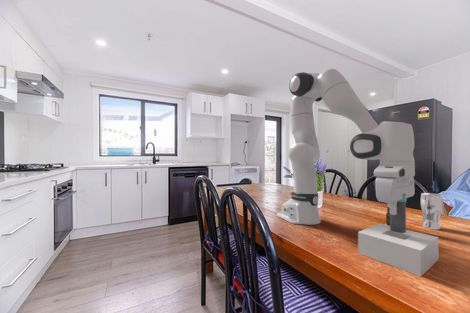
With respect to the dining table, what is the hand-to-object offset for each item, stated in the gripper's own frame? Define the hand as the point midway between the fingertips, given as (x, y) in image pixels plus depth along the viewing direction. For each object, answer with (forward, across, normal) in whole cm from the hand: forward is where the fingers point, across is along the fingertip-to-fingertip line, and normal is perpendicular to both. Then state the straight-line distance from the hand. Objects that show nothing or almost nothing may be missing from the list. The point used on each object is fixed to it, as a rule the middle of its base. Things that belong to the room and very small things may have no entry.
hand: (397, 212), depth 66 cm
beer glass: (+14, -44, -2) cm, 46 cm away
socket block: (+14, 0, 0) cm, 14 cm away
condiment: (+14, -17, -7) cm, 23 cm away
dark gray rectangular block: (+6, 0, 0) cm, 6 cm away
